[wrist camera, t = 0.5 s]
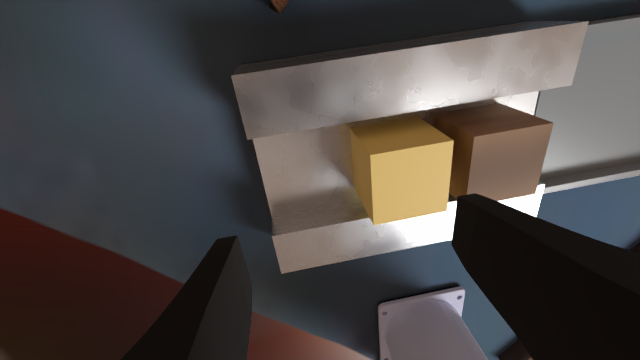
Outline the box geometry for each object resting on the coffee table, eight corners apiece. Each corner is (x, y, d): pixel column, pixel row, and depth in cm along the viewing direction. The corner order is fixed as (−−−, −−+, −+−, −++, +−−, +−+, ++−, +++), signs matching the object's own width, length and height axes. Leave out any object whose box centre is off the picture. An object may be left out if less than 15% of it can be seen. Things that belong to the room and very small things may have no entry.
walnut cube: (488, 163, 20) (535, 194, 16) (430, 174, 20) (465, 207, 16) (498, 102, 18) (553, 122, 14) (433, 113, 18) (474, 136, 14)
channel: (498, 195, 23) (534, 223, 20) (279, 237, 22) (281, 273, 19) (531, 20, 18) (588, 21, 14) (238, 65, 16) (231, 75, 13)
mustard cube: (415, 176, 20) (446, 211, 16) (354, 187, 19) (373, 225, 16) (417, 116, 18) (453, 140, 14) (349, 127, 17) (370, 155, 14)
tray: (646, 162, 24) (666, 169, 23) (503, 189, 23) (516, 198, 22) (716, 1, 19) (747, 0, 17) (534, 29, 18) (554, 30, 17)
